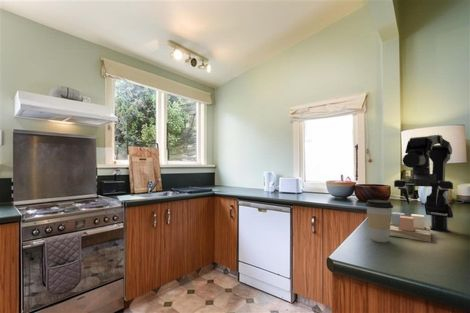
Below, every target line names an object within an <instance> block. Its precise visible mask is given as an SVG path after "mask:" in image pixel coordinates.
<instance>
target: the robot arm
mask: <svg viewBox="0 0 470 313" xmlns="http://www.w3.org/2000/svg"><path fill="white" fill-rule="evenodd" d="M404 153H405V155H403V158H402V163H403V165H404V166H406V167H407V168H411V170H412V171H411V172H412V181H406V179H395V180H394V181H393V187H394V188H397V189H398V190H401V192H402V193H403V196H404V198H405V200H406V202H407V205H410V198H409V193H408V187H425V188H426V187H427V188H428V187H431V193H429V194H428V195H426V201H425V203H424V210H425V215H426V216H430V223H431V224H430V226H429V227H430V231H431V230H432V231H440V232H448V233H450V229H449V228H448V219H450V218H452V219H453V218H454V213H453V209H452V207H451V205H450V204H451V203H450V201H449V199H448V198H447V196H446V195H445V192H449V190H453V189H454V185H453V184H454V183H453V182H452V181H451V180H446V164H447V163H448V162H449V161H450V160H451V155H452V154H453V148H452V145H451V142H450V141H448V140H447V139H445V138H443V136H442V134H441V135H440V134H434V135H427V136H416V137H410V138H409V140H408V142H407V144H406V148H405V151H404ZM430 160H431V162H432V173H431V165H430V163H431V162H430Z"/></svg>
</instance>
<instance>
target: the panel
mask: <svg viewBox="0 0 470 313" xmlns="http://www.w3.org/2000/svg"><path fill="white" fill-rule="evenodd" d="M390 236H392V237H397V238H405V239H412V240H415V241H416V240H417V241H422V242H423V241H425V242H429V243H431V242H432V240H431V239H432V238H431V236H432V235H431V229H430V226H425V229H421V228H414V231H406V230H400V226H397V225H392V221H391V225H390V231H389V237H390Z"/></svg>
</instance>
